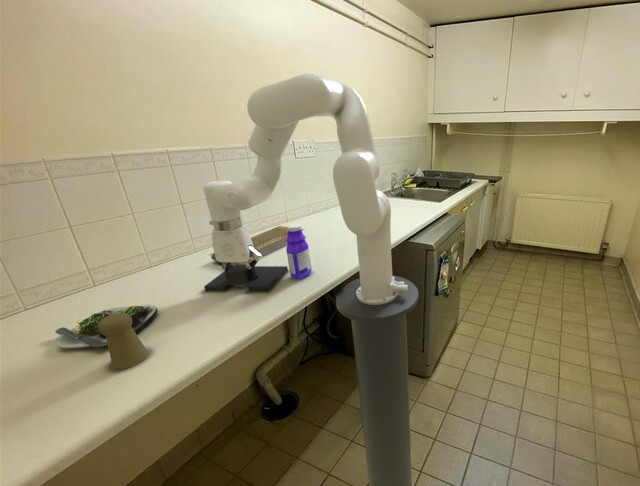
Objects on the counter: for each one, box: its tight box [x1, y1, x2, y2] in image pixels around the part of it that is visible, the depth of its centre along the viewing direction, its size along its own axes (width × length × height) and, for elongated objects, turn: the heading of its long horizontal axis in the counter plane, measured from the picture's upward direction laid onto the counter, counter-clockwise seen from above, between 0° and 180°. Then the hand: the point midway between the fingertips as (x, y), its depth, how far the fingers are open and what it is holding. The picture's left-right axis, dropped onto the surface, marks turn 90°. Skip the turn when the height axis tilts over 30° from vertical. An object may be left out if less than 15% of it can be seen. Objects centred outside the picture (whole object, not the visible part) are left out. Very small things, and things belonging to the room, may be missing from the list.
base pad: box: [204, 265, 289, 293], centre depth 101 cm, size 20×14×2 cm
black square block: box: [225, 265, 257, 286], centre depth 96 cm, size 6×6×4 cm
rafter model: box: [208, 225, 305, 266], centre depth 126 cm, size 35×14×6 cm, turn 158°
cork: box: [98, 313, 149, 370], centre depth 66 cm, size 6×6×11 cm
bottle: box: [285, 223, 312, 280], centre depth 101 cm, size 7×6×17 cm
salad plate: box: [54, 304, 159, 349], centre depth 77 cm, size 19×18×5 cm
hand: (242, 278), depth 97 cm, fingers closed on black square block, 6 cm apart
